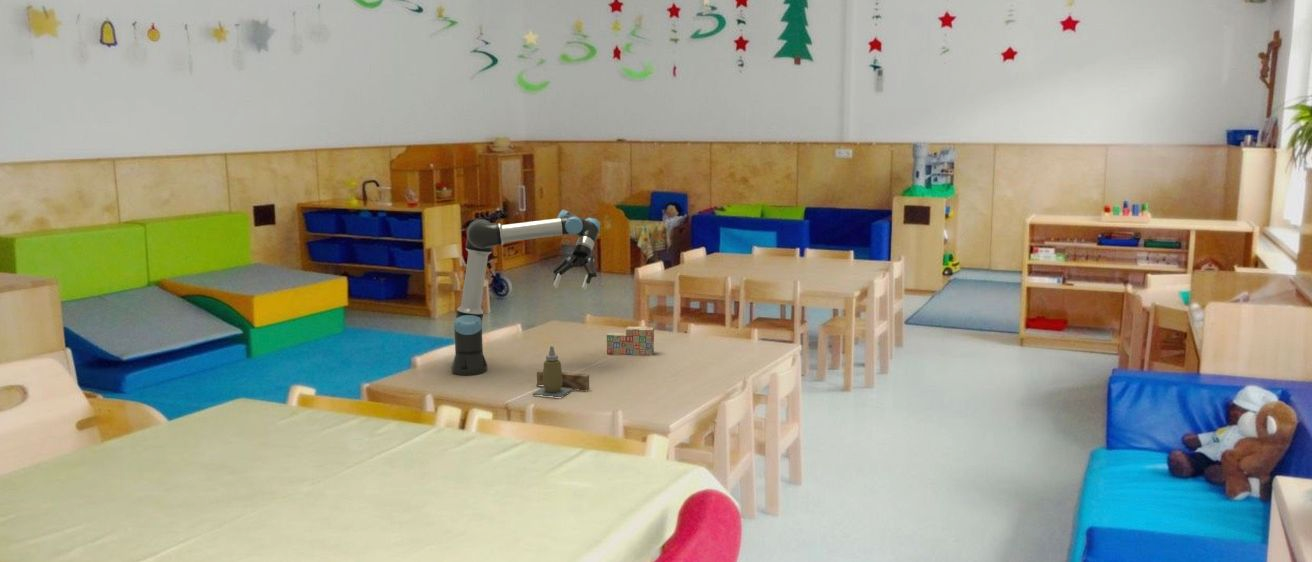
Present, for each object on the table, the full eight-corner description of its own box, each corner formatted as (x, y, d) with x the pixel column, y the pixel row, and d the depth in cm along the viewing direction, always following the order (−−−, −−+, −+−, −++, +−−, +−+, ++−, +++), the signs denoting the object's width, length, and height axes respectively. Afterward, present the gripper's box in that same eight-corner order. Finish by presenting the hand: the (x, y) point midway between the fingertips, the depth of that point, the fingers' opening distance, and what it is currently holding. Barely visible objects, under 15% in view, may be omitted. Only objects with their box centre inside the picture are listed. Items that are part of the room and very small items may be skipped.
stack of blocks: (606, 354, 451) (606, 328, 449) (608, 351, 457) (608, 325, 455) (652, 355, 448) (652, 329, 446) (654, 352, 454) (654, 326, 452)
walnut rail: (589, 389, 392) (589, 374, 391) (586, 391, 389) (586, 376, 388) (540, 384, 400) (539, 370, 399) (536, 386, 397) (536, 371, 396)
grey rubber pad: (560, 398, 379) (560, 396, 379) (532, 396, 383) (532, 393, 383) (573, 390, 390) (573, 388, 390) (546, 388, 394) (546, 385, 394)
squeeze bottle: (553, 394, 381) (552, 349, 378) (538, 391, 386) (537, 347, 383) (567, 390, 387) (566, 346, 384) (552, 387, 392) (551, 343, 389)
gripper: (611, 255, 430) (598, 294, 418) (560, 253, 438) (546, 291, 427) (606, 244, 424) (592, 284, 412) (555, 242, 433) (540, 281, 421)
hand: (569, 288), depth 420 cm, fingers open, 13 cm apart
